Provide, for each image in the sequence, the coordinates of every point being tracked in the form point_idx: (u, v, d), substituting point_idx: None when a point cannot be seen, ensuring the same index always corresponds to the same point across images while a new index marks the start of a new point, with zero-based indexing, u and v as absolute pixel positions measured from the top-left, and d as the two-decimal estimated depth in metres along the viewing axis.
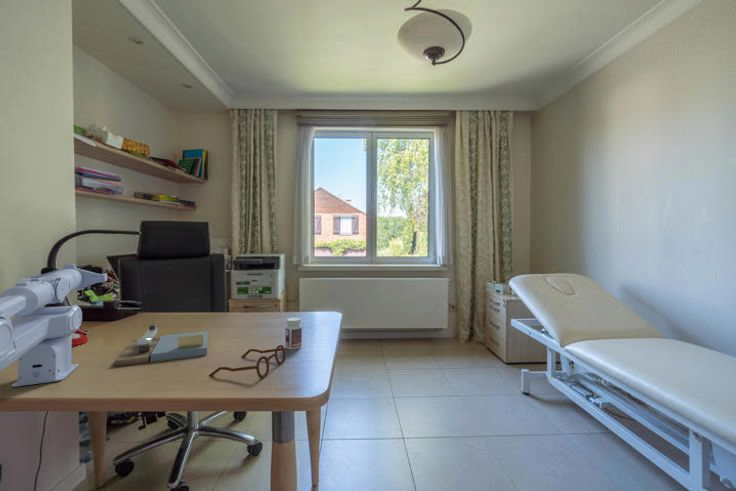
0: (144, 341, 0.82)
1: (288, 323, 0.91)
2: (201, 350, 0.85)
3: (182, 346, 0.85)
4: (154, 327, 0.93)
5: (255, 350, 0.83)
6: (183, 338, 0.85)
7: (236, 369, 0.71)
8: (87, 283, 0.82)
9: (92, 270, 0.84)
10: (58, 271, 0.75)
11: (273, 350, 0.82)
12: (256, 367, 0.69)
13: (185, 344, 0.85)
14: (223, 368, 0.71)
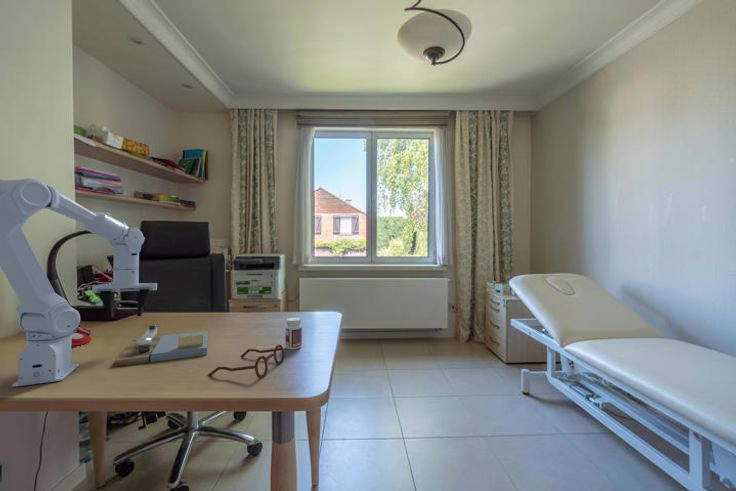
0: (144, 341, 0.82)
1: (288, 323, 0.91)
2: (201, 350, 0.85)
3: (182, 346, 0.85)
4: (154, 327, 0.93)
5: (254, 350, 0.83)
6: (183, 338, 0.85)
7: (235, 369, 0.71)
8: None
9: None
10: None
11: (272, 350, 0.82)
12: (255, 367, 0.70)
13: (185, 344, 0.85)
14: (222, 368, 0.71)
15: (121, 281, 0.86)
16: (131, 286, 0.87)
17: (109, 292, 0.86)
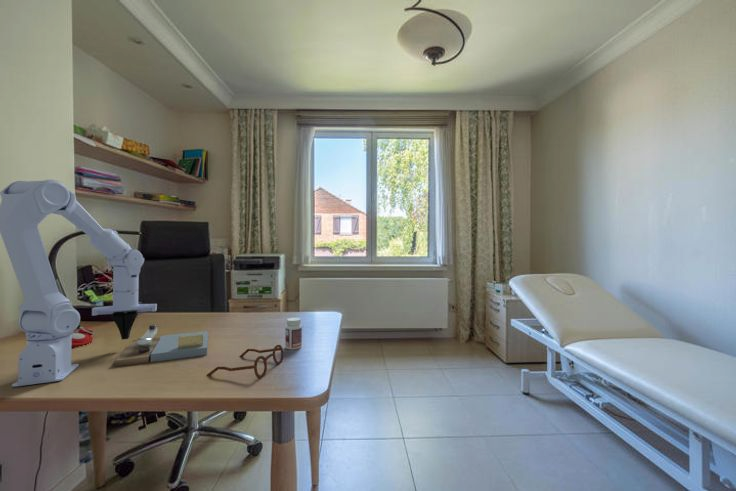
0: (144, 341, 0.82)
1: (288, 323, 0.91)
2: (201, 350, 0.85)
3: (182, 346, 0.85)
4: (154, 327, 0.93)
5: (253, 350, 0.83)
6: (183, 338, 0.85)
7: (234, 369, 0.71)
8: None
9: None
10: None
11: (271, 350, 0.82)
12: (254, 367, 0.70)
13: (185, 344, 0.85)
14: (221, 368, 0.72)
15: (121, 303, 0.86)
16: (131, 308, 0.87)
17: None
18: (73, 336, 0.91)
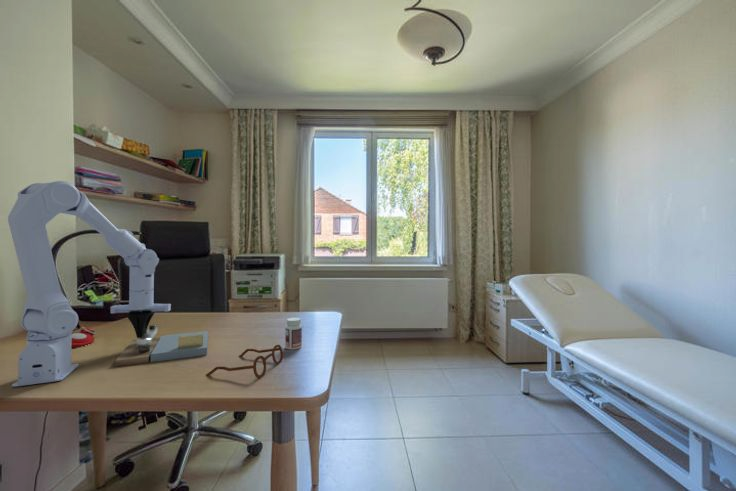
0: (144, 341, 0.82)
1: (288, 323, 0.91)
2: (201, 350, 0.85)
3: (182, 346, 0.85)
4: (154, 327, 0.93)
5: (252, 350, 0.83)
6: (183, 338, 0.85)
7: (233, 369, 0.71)
8: None
9: None
10: None
11: (270, 350, 0.82)
12: (253, 367, 0.70)
13: (185, 344, 0.85)
14: (220, 368, 0.72)
15: (135, 303, 0.87)
16: (144, 307, 0.88)
17: None
18: (75, 336, 0.91)
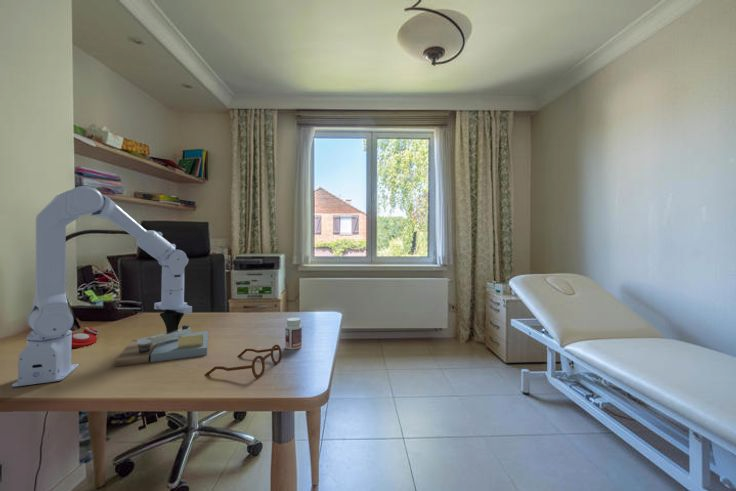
0: (138, 341, 0.81)
1: (288, 323, 0.91)
2: (201, 350, 0.85)
3: (182, 346, 0.85)
4: (184, 327, 0.93)
5: (251, 350, 0.84)
6: (183, 338, 0.85)
7: (232, 368, 0.71)
8: None
9: None
10: None
11: (269, 350, 0.82)
12: (251, 366, 0.70)
13: (185, 344, 0.85)
14: (219, 367, 0.72)
15: (162, 301, 0.90)
16: (167, 307, 0.89)
17: None
18: (77, 336, 0.91)
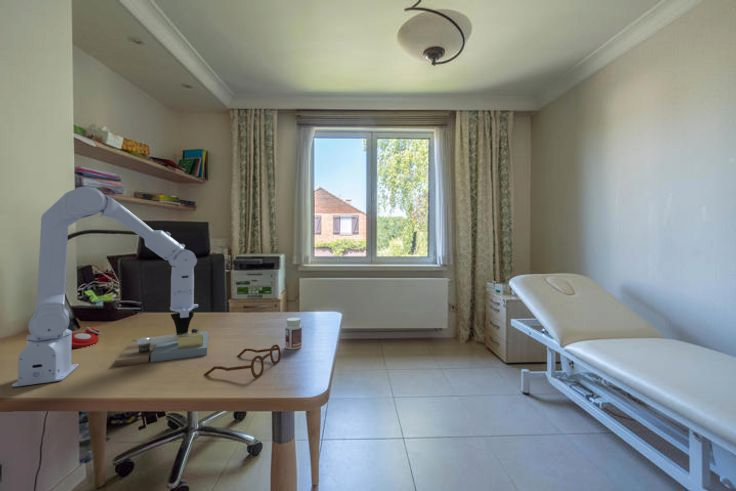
0: (137, 341, 0.82)
1: (288, 323, 0.91)
2: (201, 350, 0.85)
3: (182, 346, 0.85)
4: (192, 331, 0.90)
5: (250, 350, 0.84)
6: (183, 338, 0.85)
7: (231, 368, 0.71)
8: None
9: None
10: None
11: (268, 350, 0.82)
12: (251, 366, 0.70)
13: (185, 344, 0.85)
14: (218, 367, 0.72)
15: None
16: (172, 309, 0.87)
17: None
18: (79, 336, 0.91)
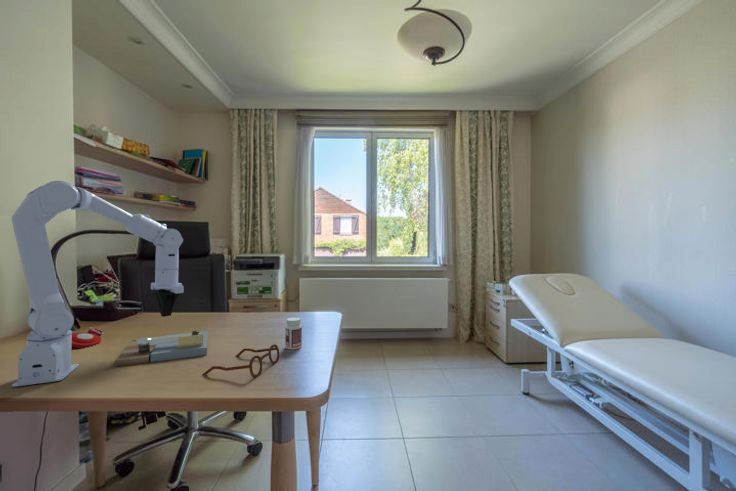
0: (137, 341, 0.82)
1: (288, 323, 0.91)
2: (201, 350, 0.85)
3: (182, 346, 0.85)
4: (192, 333, 0.88)
5: (249, 349, 0.84)
6: (183, 338, 0.85)
7: (229, 368, 0.71)
8: None
9: None
10: None
11: (267, 349, 0.83)
12: (249, 366, 0.70)
13: (185, 344, 0.85)
14: (216, 367, 0.72)
15: (155, 281, 0.89)
16: (160, 286, 0.88)
17: None
18: (81, 336, 0.91)
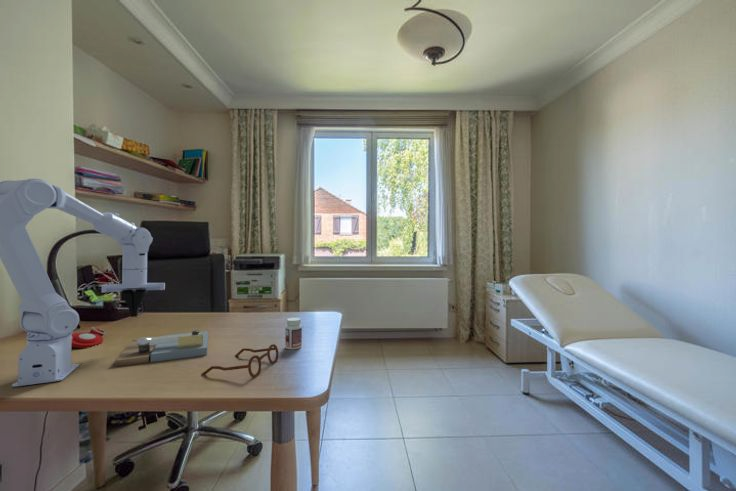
0: (137, 341, 0.82)
1: (288, 323, 0.91)
2: (201, 350, 0.85)
3: (182, 346, 0.85)
4: (192, 333, 0.88)
5: (248, 349, 0.84)
6: (183, 338, 0.85)
7: (228, 368, 0.71)
8: None
9: None
10: None
11: (266, 349, 0.83)
12: (248, 366, 0.70)
13: (185, 344, 0.85)
14: (215, 367, 0.72)
15: (130, 281, 0.87)
16: (140, 286, 0.88)
17: None
18: (83, 336, 0.91)
